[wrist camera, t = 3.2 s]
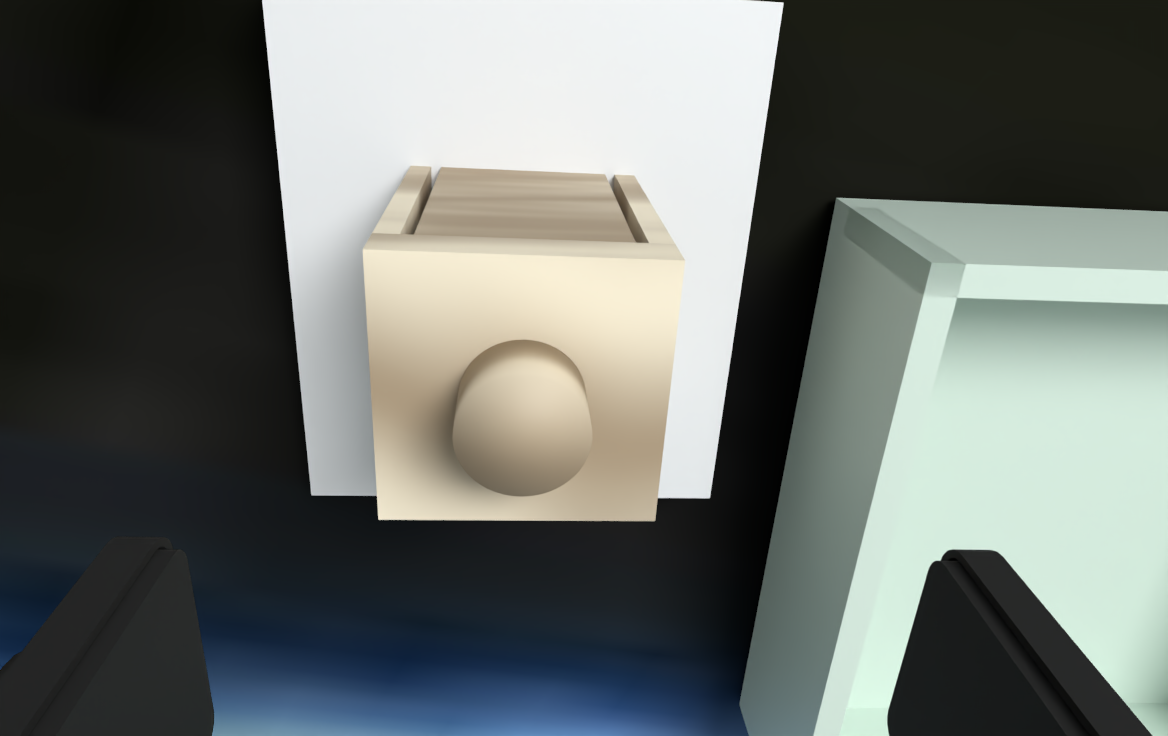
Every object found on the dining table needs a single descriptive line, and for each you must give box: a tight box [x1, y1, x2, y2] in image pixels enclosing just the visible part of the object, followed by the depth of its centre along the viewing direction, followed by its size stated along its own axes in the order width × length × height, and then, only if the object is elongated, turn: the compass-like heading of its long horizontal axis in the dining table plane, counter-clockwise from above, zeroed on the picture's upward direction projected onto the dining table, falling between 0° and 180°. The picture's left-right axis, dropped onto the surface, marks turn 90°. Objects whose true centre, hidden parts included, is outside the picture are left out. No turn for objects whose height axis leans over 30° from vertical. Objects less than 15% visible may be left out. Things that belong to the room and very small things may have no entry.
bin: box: [739, 198, 1168, 736], centre depth 26 cm, size 20×18×6 cm
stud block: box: [262, 0, 783, 498], centre depth 20 cm, size 14×12×7 cm
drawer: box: [363, 166, 685, 521], centre depth 18 cm, size 6×6×8 cm
